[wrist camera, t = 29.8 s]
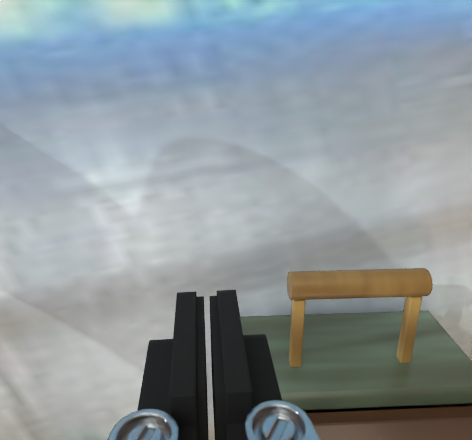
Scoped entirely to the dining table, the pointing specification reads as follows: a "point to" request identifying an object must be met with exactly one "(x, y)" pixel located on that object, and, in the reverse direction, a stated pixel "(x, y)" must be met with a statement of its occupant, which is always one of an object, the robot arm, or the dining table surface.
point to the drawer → (363, 346)
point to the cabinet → (396, 424)
